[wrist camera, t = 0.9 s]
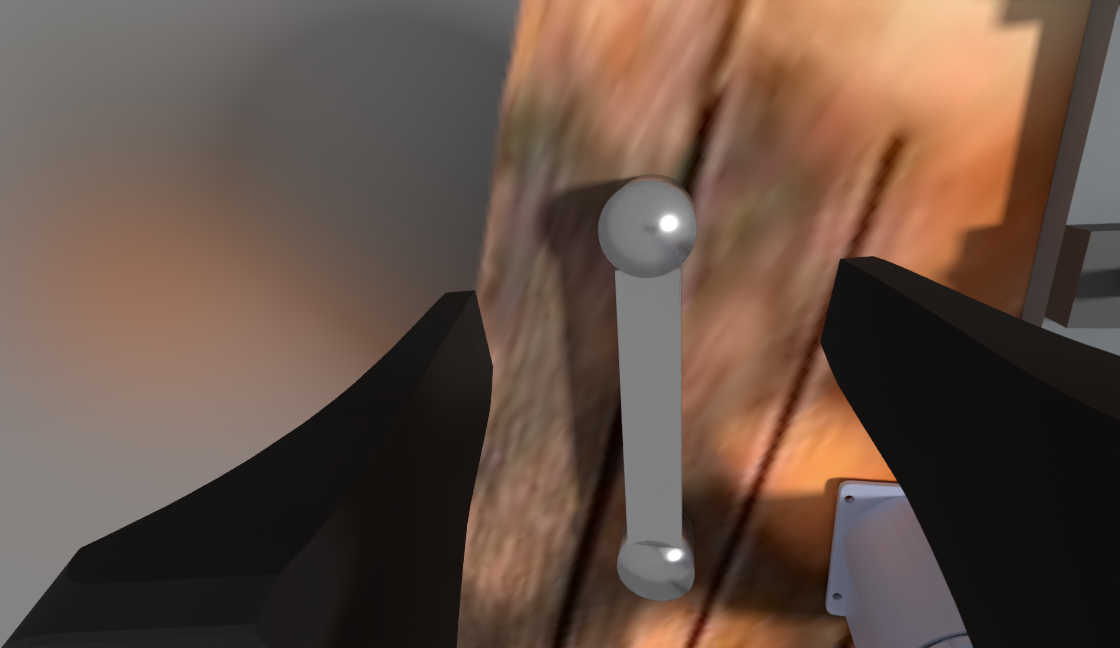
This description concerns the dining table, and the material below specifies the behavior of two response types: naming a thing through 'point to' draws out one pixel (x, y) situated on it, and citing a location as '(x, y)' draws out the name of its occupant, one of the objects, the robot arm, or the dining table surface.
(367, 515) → the robot arm
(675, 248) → the grey bar
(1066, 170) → the peg rack
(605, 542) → the dining table surface
